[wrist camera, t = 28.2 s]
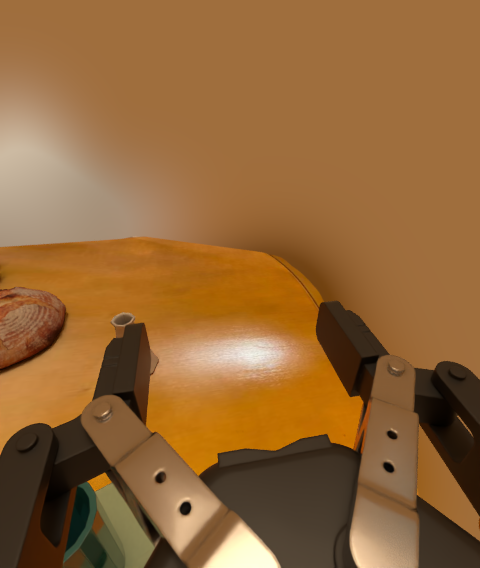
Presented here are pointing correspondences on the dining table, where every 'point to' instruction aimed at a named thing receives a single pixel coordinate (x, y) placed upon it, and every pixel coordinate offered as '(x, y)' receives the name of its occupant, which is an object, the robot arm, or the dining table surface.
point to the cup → (92, 535)
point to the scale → (126, 527)
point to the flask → (119, 325)
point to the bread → (27, 323)
